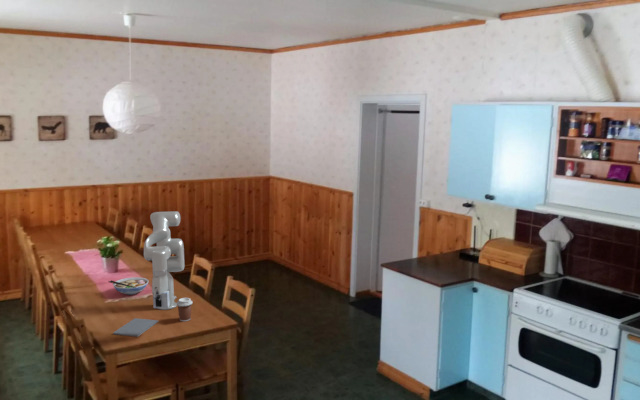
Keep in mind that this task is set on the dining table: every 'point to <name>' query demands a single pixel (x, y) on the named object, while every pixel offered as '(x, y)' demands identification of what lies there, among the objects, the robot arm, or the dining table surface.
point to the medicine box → (163, 300)
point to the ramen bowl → (130, 285)
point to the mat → (135, 327)
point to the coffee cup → (184, 309)
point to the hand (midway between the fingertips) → (161, 304)
